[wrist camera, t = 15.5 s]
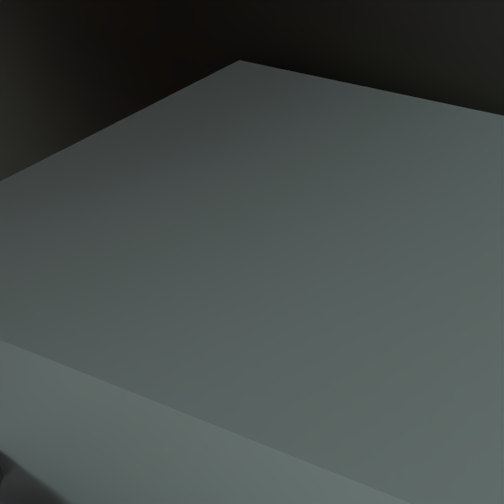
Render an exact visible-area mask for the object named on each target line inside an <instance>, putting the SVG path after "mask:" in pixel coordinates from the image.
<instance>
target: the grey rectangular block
mask: <svg viewBox="0 0 504 504" xmlns="http://www.w3.org/2000/svg"><path fill="white" fill-rule="evenodd" d="M0 466H1V469H2V472H3V475H4V477H3V479H2V482H1V485H0V504H504V116H502V115H497V114H493V113H488V112H483V111H478V110H474V109H469V108H464V107H459V106H455V105H450V104H445V103H440V102H436V101H431V100H426V99H421V98H417V97H412V96H407V95H402V94H398V93H393V92H388V91H383V90H379V89H374V88H369V87H364V86H360V85H355V84H350V83H345V82H341V81H336V80H331V79H326V78H321V77H317V76H312V75H307V74H302V73H298V72H293V71H288V70H283V69H279V68H274V67H269V66H264V65H260V64H255V63H250V62H245V61H241V60H239V61H237V62H235V63H233V64H231V65H229V66H227V67H225V68H223V69H221V70H219V71H217V72H215V73H213V74H211V75H209V76H207V77H205V78H203V79H201V80H199V81H197V82H195V83H193V84H191V85H189V86H187V87H185V88H183V89H181V90H180V91H178V92H176V93H174V94H172V95H170V96H168V97H166V98H164V99H162V100H160V101H158V102H156V103H154V104H152V105H150V106H148V107H146V108H144V109H142V110H140V111H138V112H136V113H134V114H132V115H130V116H128V117H126V118H124V119H122V120H120V121H118V122H117V123H115V124H113V125H111V126H109V127H107V128H105V129H103V130H101V131H99V132H97V133H95V134H93V135H91V136H89V137H87V138H85V139H83V140H81V141H79V142H77V143H75V144H73V145H71V146H69V147H67V148H65V149H63V150H61V151H59V152H57V153H55V154H54V155H52V156H50V157H48V158H46V159H44V160H42V161H40V162H38V163H36V164H34V165H32V166H30V167H28V168H26V169H24V170H22V171H20V172H18V173H16V174H14V175H12V176H10V177H8V178H6V179H4V180H2V181H0Z"/></svg>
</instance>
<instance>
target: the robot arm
mask: <svg viewBox="0 0 504 504" xmlns="http://www.w3.org/2000/svg"><path fill="white" fill-rule="evenodd" d="M3 477H4V475H3V472H2V469H1V466H0V485H1V482H2V479H3Z"/></svg>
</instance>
